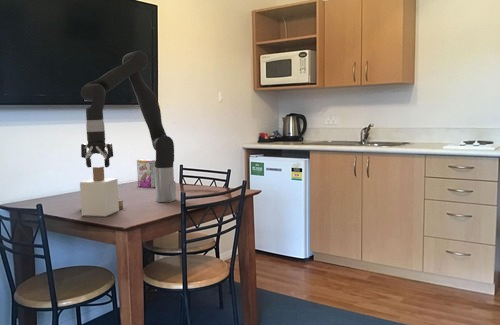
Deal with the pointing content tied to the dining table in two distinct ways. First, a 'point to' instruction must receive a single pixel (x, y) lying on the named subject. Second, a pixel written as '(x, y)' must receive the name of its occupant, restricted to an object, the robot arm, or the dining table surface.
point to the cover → (99, 194)
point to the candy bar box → (146, 173)
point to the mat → (98, 216)
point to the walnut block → (120, 204)
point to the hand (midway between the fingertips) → (98, 167)
